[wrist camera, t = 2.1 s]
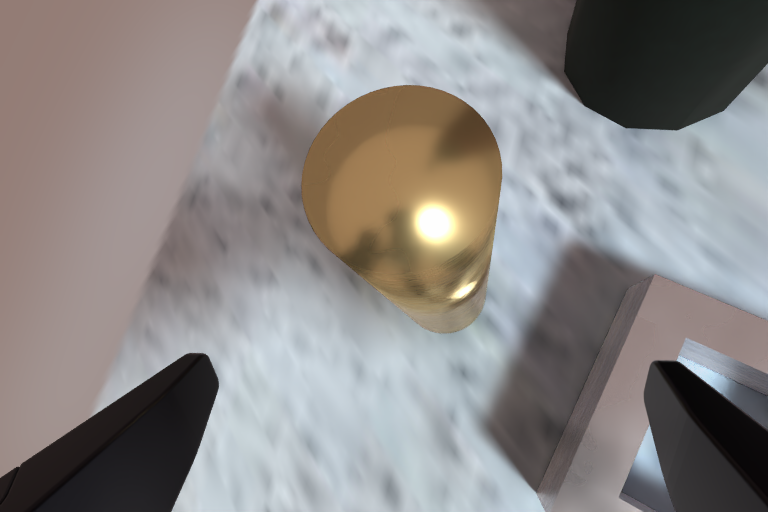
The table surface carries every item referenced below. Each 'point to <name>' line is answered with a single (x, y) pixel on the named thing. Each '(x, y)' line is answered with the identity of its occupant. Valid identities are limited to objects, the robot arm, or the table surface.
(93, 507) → the robot arm
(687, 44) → the wine bottle
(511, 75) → the table surface
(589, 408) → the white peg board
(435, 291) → the gold metal cylinder
